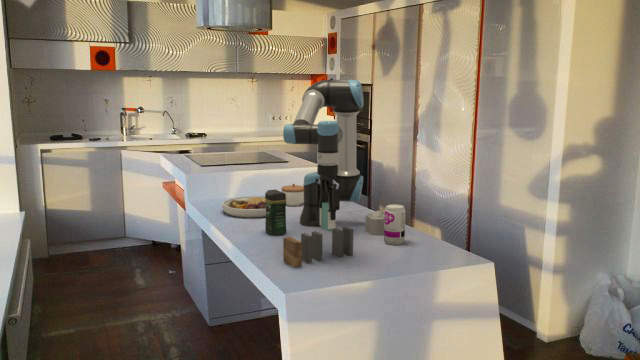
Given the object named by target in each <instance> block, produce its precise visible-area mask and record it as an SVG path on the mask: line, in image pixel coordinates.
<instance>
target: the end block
mask: <svg viewBox="0 0 640 360" xmlns="http://www.w3.org/2000/svg"><path fill="white" fill-rule="evenodd" d="M282 241H283V244H282V246H283V248H282V249H283V262H284V263H285V264H287V265H288V266H290V267H292V268H300V267H303V264H302V263H303V261H302V242H301V240H299V239H297V238H295V237H293V236H286V237H283V240H282Z"/></svg>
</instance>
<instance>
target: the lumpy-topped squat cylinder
mask: <svg viewBox="0 0 640 360" xmlns="http://www.w3.org/2000/svg"><path fill="white" fill-rule="evenodd" d="M384 224H385V211H383V212H382V211H381V210H376V211H374V212H373V211H372V212H370V213H367V214H366V215H365V233H368V234H369V235H371V236H384Z"/></svg>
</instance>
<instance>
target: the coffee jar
mask: <svg viewBox="0 0 640 360" xmlns="http://www.w3.org/2000/svg"><path fill="white" fill-rule="evenodd" d="M264 195H265V196H264V197H265V203H266V217H265V229H264V231H265V232H266V233H267V234H269V235H271V236H281V235H284V234H286V233H287V216H286V215H287V211H286V209H287V207H286V206H287V204H286V194H285V193H283V192H282V191H280V190H278V189H267V191H266V192H265V193H264Z"/></svg>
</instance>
